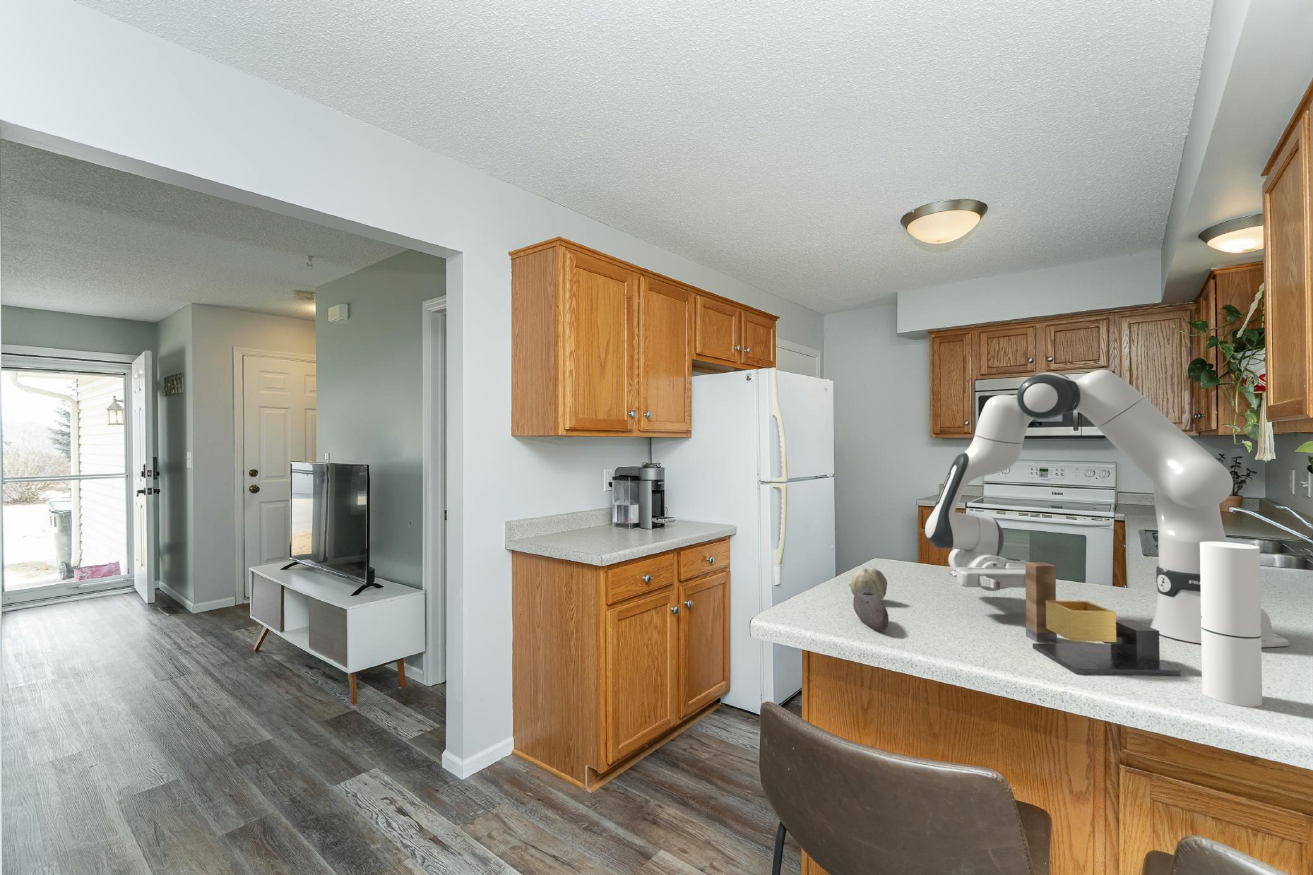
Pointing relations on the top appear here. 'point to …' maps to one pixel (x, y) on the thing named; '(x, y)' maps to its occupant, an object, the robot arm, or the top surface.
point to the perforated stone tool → (870, 610)
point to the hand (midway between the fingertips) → (1018, 584)
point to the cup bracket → (1124, 640)
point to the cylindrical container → (1231, 623)
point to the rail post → (1039, 599)
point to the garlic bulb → (869, 582)
